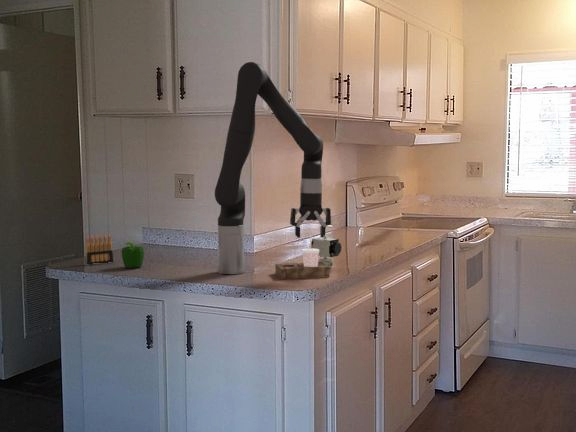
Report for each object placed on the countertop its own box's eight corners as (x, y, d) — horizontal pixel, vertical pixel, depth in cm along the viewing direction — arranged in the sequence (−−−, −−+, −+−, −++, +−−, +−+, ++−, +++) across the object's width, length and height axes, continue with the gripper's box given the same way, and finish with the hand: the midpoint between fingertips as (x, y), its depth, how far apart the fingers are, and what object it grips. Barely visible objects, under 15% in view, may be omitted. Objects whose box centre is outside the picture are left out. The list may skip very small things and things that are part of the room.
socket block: (281, 279, 240) (281, 269, 240) (275, 273, 251) (275, 263, 251) (329, 276, 244) (329, 266, 243) (321, 271, 254) (321, 261, 254)
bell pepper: (142, 265, 272) (141, 239, 271) (146, 268, 264) (145, 242, 263) (120, 266, 269) (119, 240, 268) (123, 270, 261) (122, 243, 260)
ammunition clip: (87, 265, 272) (85, 235, 270) (85, 265, 273) (84, 234, 272) (113, 262, 278) (112, 232, 277) (111, 262, 279) (110, 232, 278)
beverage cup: (302, 276, 245) (302, 236, 243) (301, 273, 251) (301, 234, 250) (319, 276, 245) (319, 236, 244) (318, 273, 251) (318, 234, 250)
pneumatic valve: (316, 265, 267) (316, 234, 266) (341, 268, 260) (341, 236, 259) (307, 267, 263) (307, 235, 262) (333, 270, 256) (333, 238, 254)
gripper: (293, 192, 240) (292, 239, 242) (333, 192, 243) (332, 238, 245) (288, 190, 247) (288, 236, 249) (327, 190, 250) (327, 235, 252)
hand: (310, 237), depth 247 cm, fingers open, 8 cm apart
